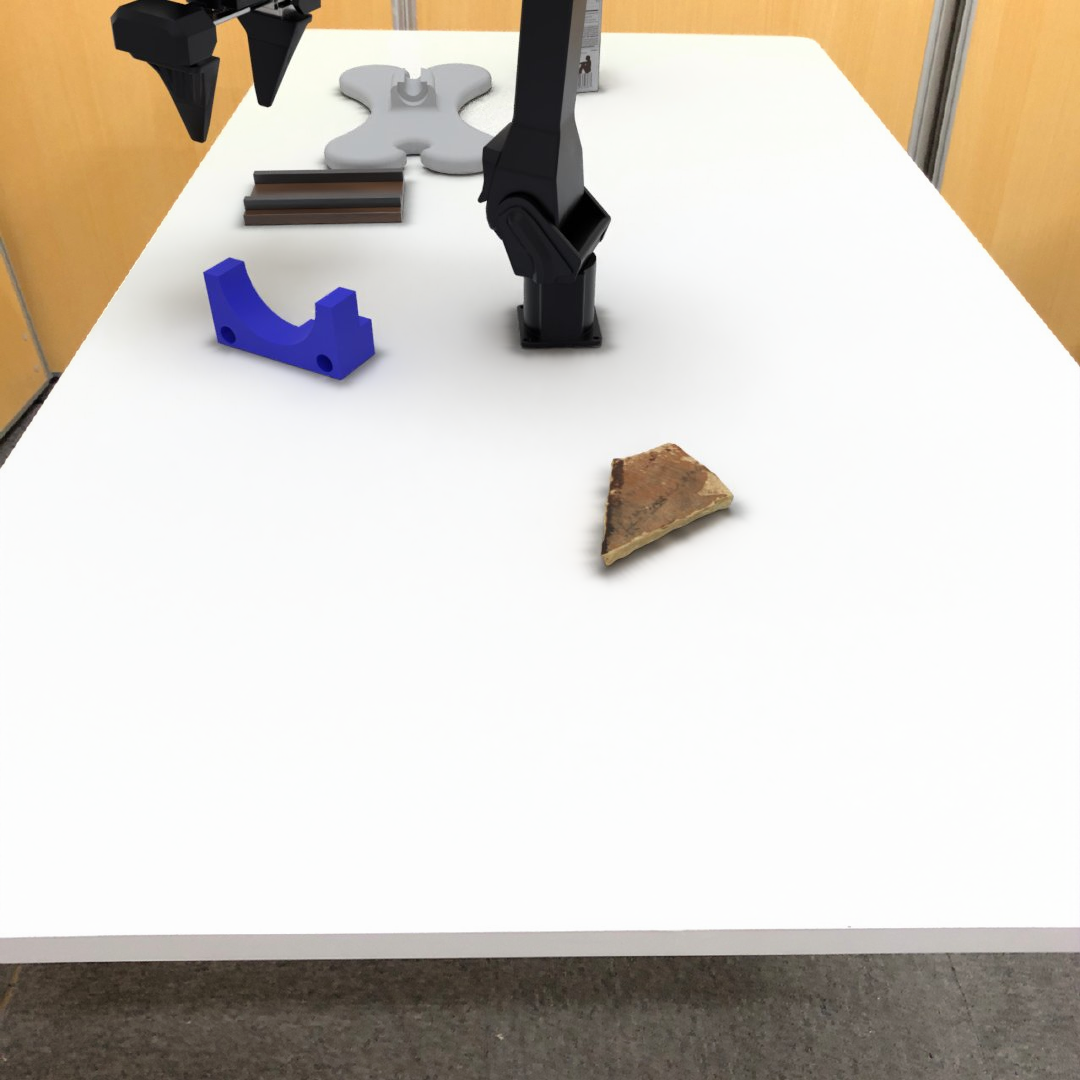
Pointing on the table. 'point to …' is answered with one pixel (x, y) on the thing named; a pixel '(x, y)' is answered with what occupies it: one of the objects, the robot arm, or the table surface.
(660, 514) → the shard
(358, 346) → the blue cradle block
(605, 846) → the table surface
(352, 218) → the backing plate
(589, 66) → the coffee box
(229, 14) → the robot arm
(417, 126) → the holder
